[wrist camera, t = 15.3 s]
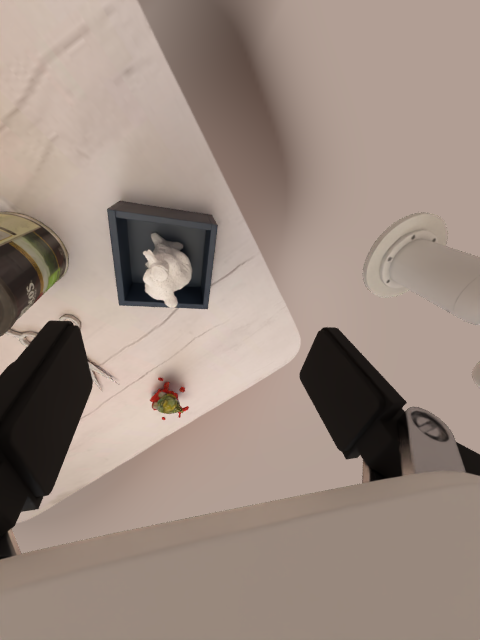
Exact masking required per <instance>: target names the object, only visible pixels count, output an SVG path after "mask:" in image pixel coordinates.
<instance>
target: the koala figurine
mask: <svg viewBox="0 0 480 640" xmlns="http://www.w3.org/2000/svg"><path fill="white" fill-rule="evenodd" d="M151 238H152V241H153V242H154V244H155V249H154V251H153V252H152V251H151V250H149V249H148V251H144V252H143V255H145V257H146V258H147V260H148V262H147V263H146V264H145V265H146V266H147V267H148V268H149V269H147V270H146V272H145V274H144V276H143V281H144V282H145V292H146V293H148V294H149V296H151V297H152V298H154V299H156V300H163V301H164V303H165V304H166V305H167V306H168V307H171V308H174V307H176V306H177V304H178V302H177V298H176V297H175V295H174V291H176V290H178V289H179V290H180V289H182V288H183V287H184V286H185V285H187V284H188V283H189V281H190V279H191V274H192V267H191V263H190V260H189V258H188V257H187V255H185V254H184V253H183V252H181V251H180V250H181V249H182V248H183V245H182V244H181V243H179V242H170V241H166V240H165V239H163V238H162V237H161V236H160V235H158V234H157V233H152V234H151Z"/></svg>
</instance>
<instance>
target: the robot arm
mask: <svg viewBox="0 0 480 640" xmlns="http://www.w3.org/2000/svg"><path fill="white" fill-rule="evenodd" d="M379 275H380V279H381V281H382V282H383V283H384V284H385V285H386V286H388V287H391V288H402V287H405V288H407V289H409V290H411V291H412V292H414V293H416V294H418V295H419V296H421V297H423V298H425V299H426V300H428V301H430V302H432V303H433V304H435V305H437V306H439V307H441V308H442V309H444V310H446V311H448V312H449V313H451V314H453V315H455V316H456V317H458V318H460V319H462V320H464V321H466V322H468V323H471V324H474V325H479V326H480V257H478V256H474V255H471V254H468V253H465V252H462V251H459V250H456V249H453V248H450V247H447V246H444V245H441V244H438V239H437V237H436V235H435V234H434V233H432V232H430V231H427V230H415V231H412V232H410V233H407V234H405V235H404V236H402V237H401V238H400V239H398V240H397V241H396V242H395V243H394V244H393V245H392V246H391V247H390V248H389V250H388V251H387V252H386V254H385V256H384V257H383V260H382V262H381V265H380V269H379ZM472 378H473V380H474V382H475V384H476V385H477V386H478V387H479V388H480V361H479V362H478V363H477V365H476V366H475V367H474V369H473V371H472ZM300 380H301V382H302V384H303V385H304V387H305V389H306V391H307V393H308V395H309V397H310V398H311V400H312V402H313V404H314V405H315V408H316V410H317V411H318V413H319V415H320V417H321V419H322V420H323V422H324V424H325V426H326V428H327V430H328V432H329V433H330V435H331V437H332V439H333V441H334V442H335V444H336V446H337V448H338V449H339V450H340V451H342V452H343V454H344V456H345V458H346V459H351V458H357V457H359V455H361V457H362V458H363V476H362V484H357V485H351V486H346V487H341V488H336V489H331V490H325V491H321V492H315V493H310V494H305V495H300V496H295V497H290V498H285V499H280V500H275V501H270V502H265V503H260V504H255V505H250V506H245V507H240V508H235V509H230V510H225V511H220V512H215V513H210V514H205V515H200V516H195V517H191V518H185V519H181V520H176V521H171V522H166V523H161V524H156V525H151V526H147V527H141V528H136V529H132V530H127V531H122V532H117V533H113V534H108V535H103V536H99V537H94V538H89V539H85V540H81V541H76V542H72V543H68V544H62V545H58V546H53V547H50V548H45V549H41V550H36V551H31V552H27V553H23V554H21V551H20V549H19V546H18V544H17V541H16V539H15V536H14V534H13V531H12V529H11V528H13V527H14V526H15V524H16V521H17V519H18V517H19V515H20V513H21V512H23V511H29V510H35V509H39V506H40V504H41V501H42V499H43V496H47V495H49V494H50V493H51V491H52V489H53V487H54V485H55V482H56V480H57V477H58V474H59V472H60V469H61V467H62V464H63V462H64V459H65V456H66V454H67V451H68V449H69V446H70V444H71V441H72V439H73V436H74V433H75V431H76V428H77V426H78V423H79V421H80V418H81V415H82V413H83V410H84V408H85V405H86V403H87V400H88V397H89V395H90V392H91V390H92V384H93V381H92V376H91V372H90V368H89V364H88V360H87V356H86V352H85V348H84V344H83V340H82V336H81V332H80V328H79V326H74V325H73V323H72V322H71V321H49V322H47V323H46V325H45V326H44V327H43V328H42V330H41V331H40V332H39V333H38V334H37V336H36V337H35V338H34V339H33V340H32V342H31V343H30V344H29V345H28V347H27V348H26V349H25V350H24V351H23V353H22V354H21V355H20V356H19V357H18V359H17V360H16V361H15V362H13V363H11V364H10V365H9V366H8V367H7V368H6V369H5V371H4V372H3V373H2V374H1V375H0V640H480V454H478V453H476V452H474V451H472V450H470V449H468V448H466V447H465V446H463V445H461V444H459V443H457V442H456V441H455V438H454V436H453V434H452V432H451V430H450V429H449V428H448V426H447V425H446V424H445V423H444V422H443V421H441V420H440V419H439V418H438V417H437V416H435V415H434V414H432V413H430V412H429V411H426V410H424V409H422V408H419V407H410V408H408V409H407V410H406V411H404V410H403V409H402V407H403V406H404V405H405V404H406V401H405V400H404V399H403V398H402V397H401V396H400V395H399V394H398V393H397V392H396V390H395V389H394V388H393V387H392V386H391V385H390V384H389V383H388V382H387V381H386V380H385V379H384V378H383V376H381V374H380V373H379V372H378V371H377V370H376V369H375V368H374V367H373V366H372V365H371V364H370V363H369V361H368V360H367V359H366V358H365V357H364V356H363V355H362V354H361V353H360V352H359V351H358V350H357V349H356V348H355V346H354V345H353V344H352V343H351V342H350V341H349V340H348V339H347V338H346V337H345V336H344V335H343V333H342V332H341V331H340V330H339V329H337V328H327V327H326V328H323V329H321V331H319V332H318V334H317V336H316V338H315V340H314V342H313V345H312V347H311V349H310V351H309V353H308V356H307V358H306V360H305V362H304V365H303V367H302V369H301V372H300Z"/></svg>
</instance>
